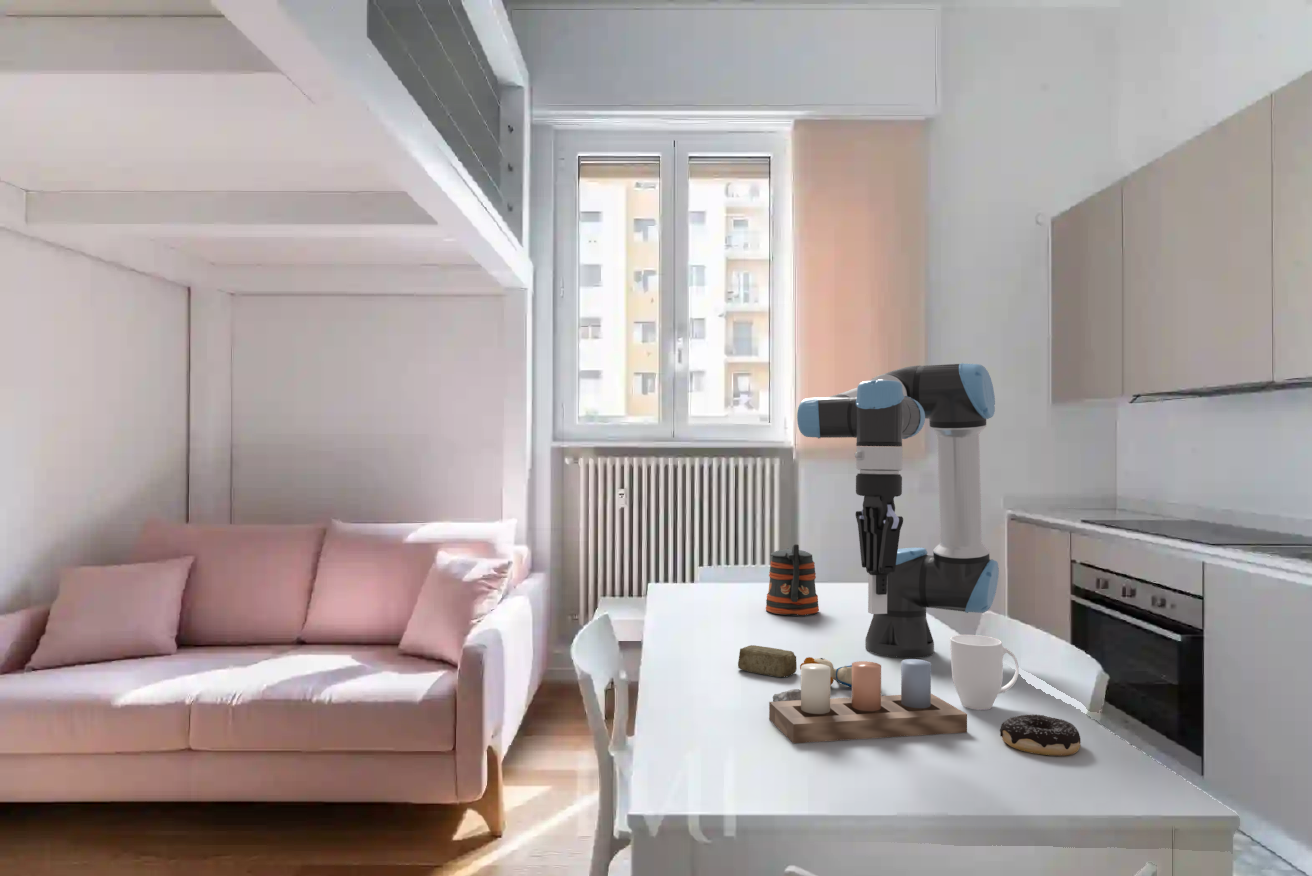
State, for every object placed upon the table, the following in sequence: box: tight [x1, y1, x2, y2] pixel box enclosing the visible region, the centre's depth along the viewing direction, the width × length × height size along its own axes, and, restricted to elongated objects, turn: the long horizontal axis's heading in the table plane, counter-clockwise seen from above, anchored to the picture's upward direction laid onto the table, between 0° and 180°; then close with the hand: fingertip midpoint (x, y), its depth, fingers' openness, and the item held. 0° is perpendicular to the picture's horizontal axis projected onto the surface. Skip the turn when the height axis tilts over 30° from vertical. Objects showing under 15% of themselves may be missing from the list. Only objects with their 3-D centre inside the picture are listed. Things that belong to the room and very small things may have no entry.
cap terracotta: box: [851, 660, 882, 711], centre depth 147 cm, size 5×5×7 cm
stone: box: [772, 688, 801, 702], centre depth 157 cm, size 6×12×4 cm, turn 140°
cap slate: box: [900, 658, 932, 708], centre depth 149 cm, size 5×5×7 cm
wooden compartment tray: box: [768, 693, 968, 744], centre depth 147 cm, size 30×12×3 cm, turn 101°
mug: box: [949, 634, 1020, 711], centre depth 159 cm, size 12×9×12 cm
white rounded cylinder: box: [800, 664, 831, 714], centre depth 145 cm, size 5×5×7 cm
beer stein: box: [765, 543, 820, 617], centre depth 242 cm, size 19×15×20 cm
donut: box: [999, 714, 1081, 757], centre depth 138 cm, size 11×12×4 cm
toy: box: [799, 656, 852, 689], centre depth 170 cm, size 12×6×15 cm
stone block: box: [737, 644, 798, 678], centre depth 181 cm, size 6×12×5 cm, turn 56°
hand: (877, 612), depth 147 cm, fingers closed
